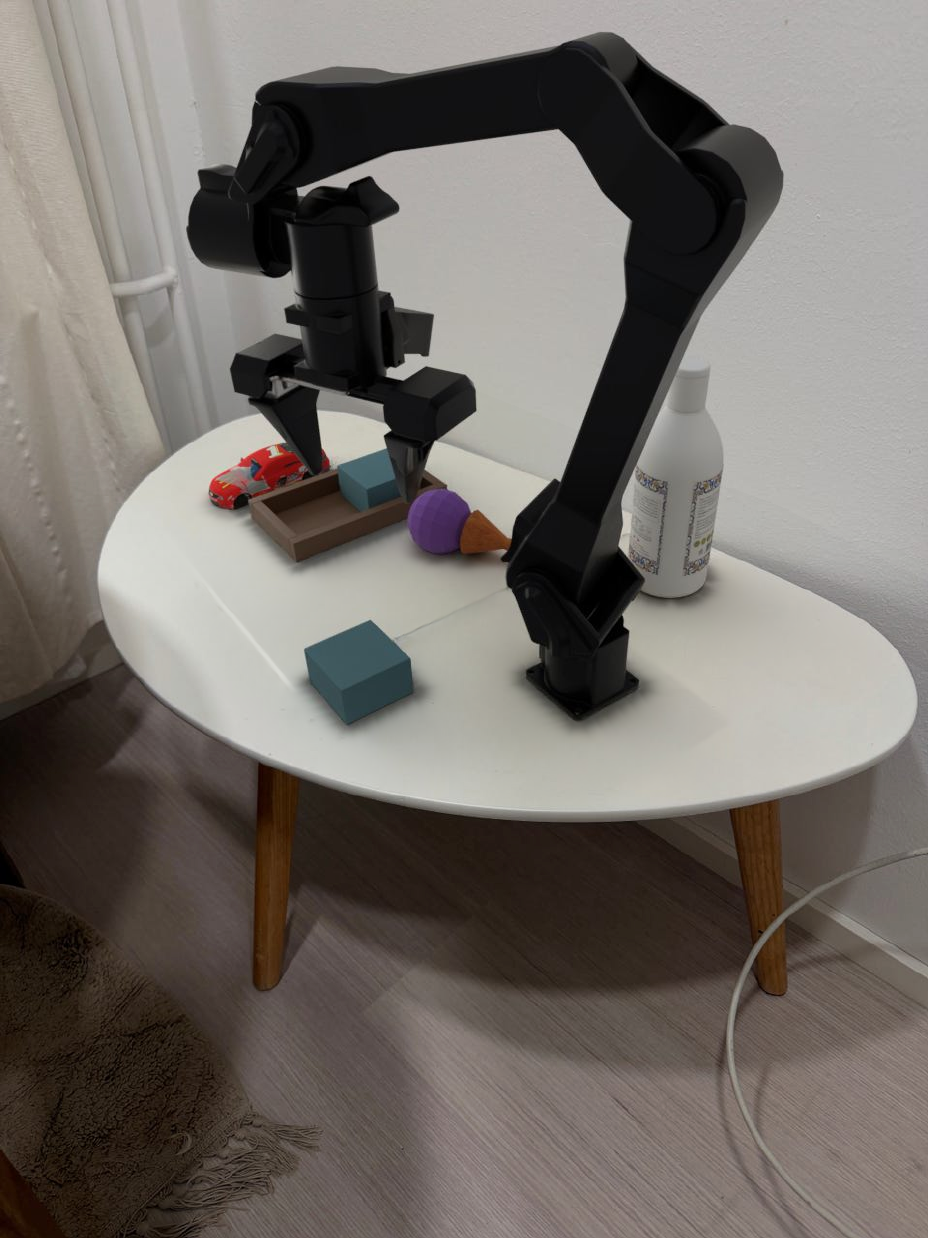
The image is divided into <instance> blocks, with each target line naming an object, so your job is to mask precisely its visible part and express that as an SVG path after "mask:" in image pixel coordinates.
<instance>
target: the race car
mask: <svg viewBox="0 0 928 1238" xmlns="http://www.w3.org/2000/svg"><path fill="white" fill-rule="evenodd" d="M322 455H323V470H322V472H320V473H319V474H317V475H320V474H323V473H326V472H328V471H331V461H330V459H329V457H328V455H327V453H326V452H325V450H324V449H323V448H322ZM317 475H316V476H317ZM311 477H314V475H311V474H310V473H309V471H308V470H307V469H306V467H305V466H304V465H303V464H302V462H301V461H300V460H299V458H298V457H297V456H296V454H295V453H294V452H293V451H292V449H291V448H290V447H289V445H288V444H287V443H286V442H280V443H275V444H272V445H269V446H265V447H262V448H260V449H257V450H256V451H253V452H251V453H250V454H249V455H247V456H245V457H240V462H238V464H236V465H233V466H231V467H230V468H228V469H226V470H225V471H223V472H220V473H219V474H217V475H216V476H214V477H213V478H212V479H211V481H210V483H209V486H208V497H209V500H210V502H211V503H212V504H213V505H215V506H216V507H218V508H221V509H225V510H226V509H227V510H234V509H236V510H239V509H240V508H241V509H242V508H243V507H246V506H249V503H248V500H249V499H252V498H255V497H257V496H260V495H263V494H266V493H269V492H272V491H275V490H277V489H280V488H283V487H286V486H289V485H292V484H294V483H297V482H300V481H303V480H306V479H309V478H311Z"/></svg>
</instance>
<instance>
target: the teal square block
mask: <svg viewBox="0 0 928 1238" xmlns="http://www.w3.org/2000/svg"><path fill="white" fill-rule="evenodd" d="M336 469H338V477H339V484H340V491H341V496H342V497H344V498H345V499H346V500H347V501H348V502H350V503H351V504H352V505H353V506H354V507H356V508H357V509H358V510H359V511H360V512H362V511H365V510H368V509H370V508H373V507H376V506H378V505H381V504H383V503H386V502H389V501H391V500H394V499H397V498H399V497H401V494H400V492H399V489H398V486H397V482H396V479H395V475H394V472H393V468H392V465H391V461H390V458H389V454H388V451H387V447H386V448H383V449H380V450H377V451H375V452H372V453H370V454H369V453H368V454H366V455H363V456H359V457H358V458H355V459H352V460H349V461H346V462H343V463H341V464H338V465H336ZM418 490H420V486H419V489H418Z"/></svg>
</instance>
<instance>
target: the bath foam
mask: <svg viewBox="0 0 928 1238" xmlns="http://www.w3.org/2000/svg"><path fill="white" fill-rule="evenodd" d="M710 375H711V362H710V361H709V360H708V359H706V358H705V357H701V356H697V355H684V356H683V359H682V361H681V363H680V366H679V368H678V370H677V373H676V375H675V377H674V379H673V382H672V384H671V386H670V389H669V391H668V393H667V403H666V405H665V407H663V408H662V409H661V410H660V412H659V414H658V416H657V418H656V421H655V423H654V425H653V428H652V430H651V432H650V434H649V437H648V439H647V441H646V444H645V446H644V448H643V451H642V453H641V455H640V457H639V460H638V462H637V464H636V467H635V469H634V471H635V472H634V484H633V493H632V494H633V495H632V507H631V517H630V518H631V519H630V531H629V540H628V541H629V542H628V543H629V544H628V555H627V557H628V558H629V560H630V561H631V562H632V563H633V565H634V566H635V567H636V568H637V569H638V571H639V572H640V573H641V574H642V576H643V577H644V578H645V583H644V585H643V586H642V588H641V590H640V591H642V592H643V593H645V594H647V595H650V596H654V597H659V598H665V599H666V598H667V599H672V598H673V599H674V598H675V599H676V598H682V597H686V596H689V595H692V594H694V593H696V592H697V591H699V590H700V589H702V587H703V585H704V584H705V582H706V580H707V576H708V570H709V563H710V557H711V551H712V545H713V538H714V531H715V525H716V524H715V523H716V518H717V511H718V505H719V498H720V492H721V486H722V477H723V471H724V460H725V459H724V457H725V455H724V446H723V441H722V437H721V434H720V431H719V429H718V428H717V426H716V424H715V422H714V420H713V419H712V417H711V414H710V413H709V411H708V410H707V408H706V403H707V397H708V388H709V382H710Z"/></svg>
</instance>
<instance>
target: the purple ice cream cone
mask: <svg viewBox="0 0 928 1238" xmlns="http://www.w3.org/2000/svg"><path fill="white" fill-rule="evenodd" d="M406 520H407V525H406V526H407V528H408V531H409V533H410V536H411V539H412V541H413V542H414V543H415V544H416V545H417V546H418V547H420V548H421V549H422V550H424V551H426V552H429V553H431V554H435V555H443V554H450V553H452V552H454V551H456V550H458V549H460V552H461V554H463V555H469V554H476V553H484V552H492V551H501V550H504V551H505V552H507V551H508V549H509V547H510V544H511V539H512V537H507V535H505V534H504V532H502V531H501V530H500V529H499V528H498V527H497V526H496V525H495V524H494V523H493V522H492V521H491V520H490V519H489V518H488V517H487V516H486V515H485V514H483V513H482V512H481V511H480V510H479V509H475V510H473V511H471V508H470V506H469V504H468V502H467V501H466V500H465V499H463V497H462V496H460V495H459V494H458V493H456V492H455V491H453V490H449V489H447V490H446V489H437V490H430V491H427V492H425V493H424V494H422V495H421V496H419V497H418V498H417V499H416V500H415V501H414V502H413V504H412V505H411V508H410V511H409V514H408V519H406Z"/></svg>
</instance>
